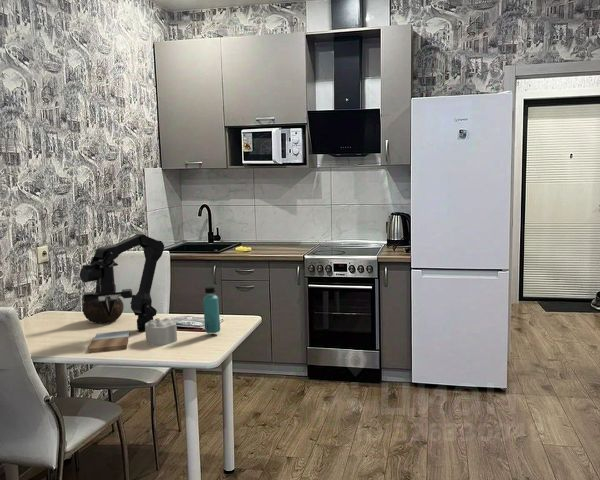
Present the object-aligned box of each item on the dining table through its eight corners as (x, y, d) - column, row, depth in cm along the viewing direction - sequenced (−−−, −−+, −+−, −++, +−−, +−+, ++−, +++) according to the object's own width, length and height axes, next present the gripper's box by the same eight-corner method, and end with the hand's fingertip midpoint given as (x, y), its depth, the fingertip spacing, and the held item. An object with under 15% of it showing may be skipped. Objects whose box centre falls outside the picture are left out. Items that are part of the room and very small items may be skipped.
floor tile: (129, 333, 245) (128, 330, 245) (127, 340, 235) (127, 336, 235) (96, 336, 242) (96, 333, 242) (94, 343, 233) (93, 339, 232)
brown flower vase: (82, 320, 272) (77, 261, 269) (121, 315, 280) (117, 257, 277) (85, 328, 256) (80, 266, 253) (127, 323, 264) (122, 262, 261)
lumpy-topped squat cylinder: (159, 347, 225) (158, 325, 224) (139, 341, 233) (138, 320, 232) (180, 340, 233) (179, 319, 232) (160, 335, 241) (159, 315, 240)
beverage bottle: (223, 333, 241) (221, 285, 238) (214, 337, 235) (212, 289, 232) (210, 332, 243) (207, 285, 241) (201, 336, 237) (198, 288, 235)
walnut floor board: (128, 340, 235) (128, 336, 235) (126, 349, 223) (126, 345, 223) (93, 344, 232) (92, 340, 232) (89, 352, 220) (89, 348, 220)
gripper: (131, 273, 244) (134, 309, 246) (84, 276, 240) (87, 313, 241) (130, 277, 233) (133, 315, 235) (81, 281, 229) (84, 320, 231)
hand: (109, 315), depth 236 cm, fingers closed
